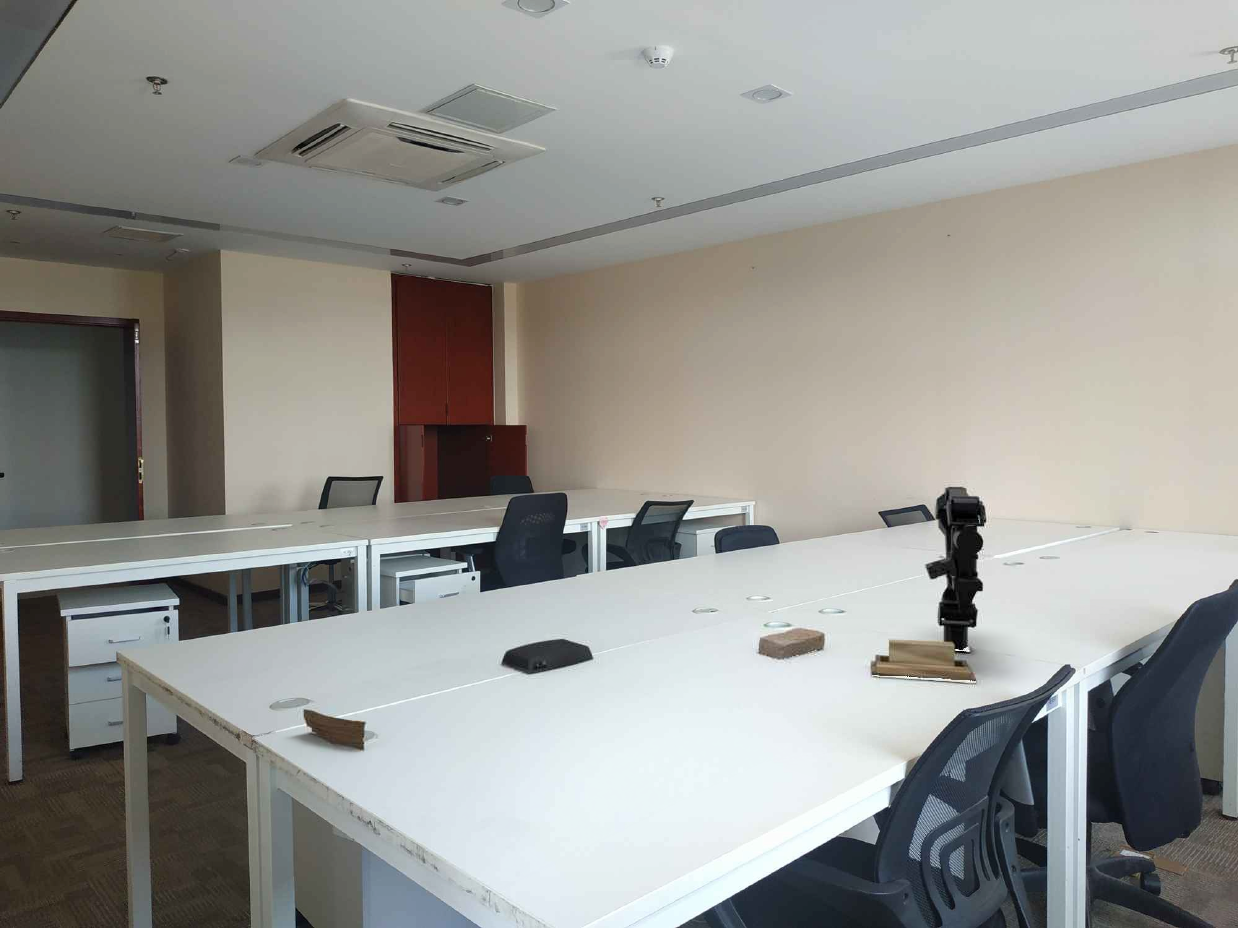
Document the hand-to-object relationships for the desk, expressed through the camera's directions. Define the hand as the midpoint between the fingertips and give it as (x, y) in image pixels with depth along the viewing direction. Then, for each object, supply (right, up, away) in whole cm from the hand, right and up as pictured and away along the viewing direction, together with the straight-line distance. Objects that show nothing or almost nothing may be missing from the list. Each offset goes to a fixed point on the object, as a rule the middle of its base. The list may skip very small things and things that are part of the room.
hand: (962, 614), depth 203 cm
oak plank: (-12, -11, -6) cm, 18 cm away
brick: (-38, -12, +13) cm, 42 cm away
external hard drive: (-99, -13, +4) cm, 100 cm away
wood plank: (-133, -15, -48) cm, 142 cm away
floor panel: (-12, -12, -7) cm, 19 cm away
